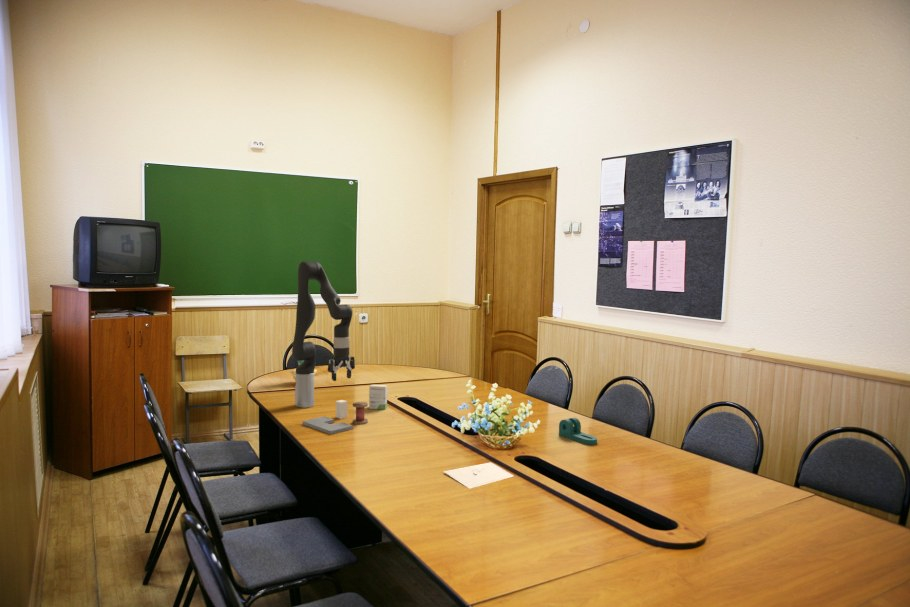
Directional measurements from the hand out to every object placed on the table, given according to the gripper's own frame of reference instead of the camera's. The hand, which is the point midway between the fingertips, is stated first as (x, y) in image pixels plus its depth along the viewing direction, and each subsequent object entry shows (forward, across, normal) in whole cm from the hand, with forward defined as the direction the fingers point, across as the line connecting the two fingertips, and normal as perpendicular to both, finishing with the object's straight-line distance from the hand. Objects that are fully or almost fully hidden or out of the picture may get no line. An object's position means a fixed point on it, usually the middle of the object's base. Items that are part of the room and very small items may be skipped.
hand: (341, 379), depth 288 cm
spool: (+19, -1, +13) cm, 23 cm away
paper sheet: (+20, +12, +102) cm, 104 cm away
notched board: (+19, +14, +8) cm, 25 cm away
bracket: (+20, -53, +100) cm, 115 cm away
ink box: (+19, -24, -1) cm, 31 cm away
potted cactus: (+19, -29, -76) cm, 84 cm away
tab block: (+19, 0, 0) cm, 19 cm away
